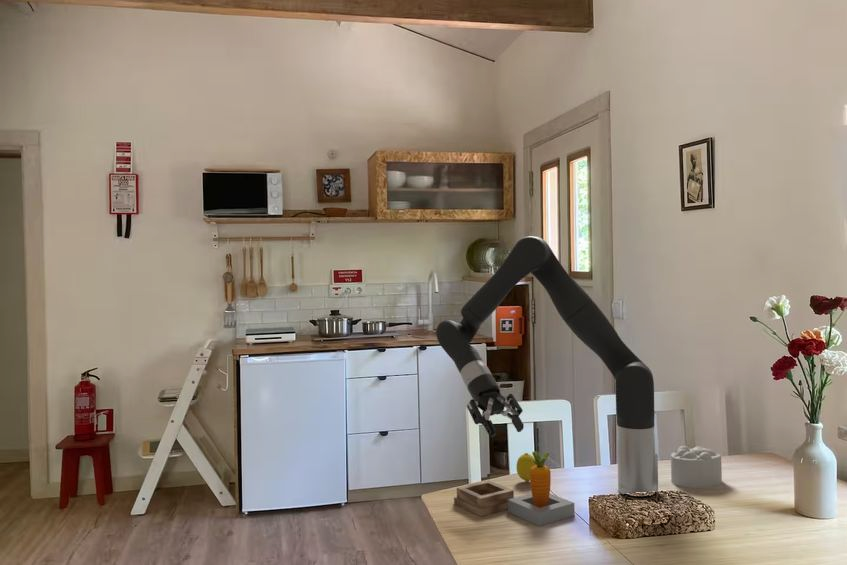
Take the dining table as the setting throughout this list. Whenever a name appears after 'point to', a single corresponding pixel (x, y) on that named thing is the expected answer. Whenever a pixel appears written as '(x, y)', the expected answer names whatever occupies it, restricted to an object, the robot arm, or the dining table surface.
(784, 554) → the dining table surface
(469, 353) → the robot arm
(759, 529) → the dining table surface
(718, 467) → the lumpy-topped squat cylinder
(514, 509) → the socket block
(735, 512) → the dining table surface
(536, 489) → the carrot
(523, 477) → the lemon
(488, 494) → the square wooden tray
